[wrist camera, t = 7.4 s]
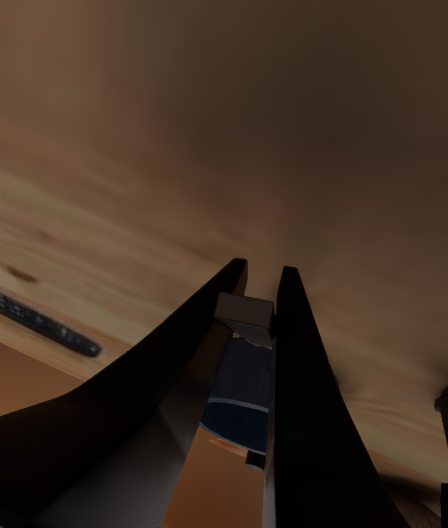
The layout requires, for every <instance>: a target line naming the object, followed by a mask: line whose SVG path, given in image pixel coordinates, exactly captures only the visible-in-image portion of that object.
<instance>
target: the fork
mask: <svg viewBox="0 0 448 528" xmlns="http://www.w3.org/2000/svg"><path fill="white" fill-rule="evenodd" d="M214 317H215V318H216V319H217V320H219V321H220V322H222V323H223V324H225V325H226V326H227V327H229V328H230V329H232V330H233V331H235V332H236V333H237V334H239V335H240V336H242V337H243V338H245V339H246V340H247V341H248V342H249V343H252V344H254V345H255V346H258V347H261V346H263V347H266V348H267V349H270V350H272V338H273V330H274V321H275V313H274V304H273V302H272V301H268V300H262V299H257V298H252V297H247V296H242V295H237V294H232V293H227V292H220V293H219V297H218V301H217V305H216V309H215V313H214Z"/></svg>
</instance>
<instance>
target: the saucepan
mask: <svg viewBox="0 0 448 528" xmlns="http://www.w3.org/2000/svg"><path fill="white" fill-rule="evenodd" d="M271 354H272V350H270V349H267V348H266V347H263V346H261V347H258V346H255V345H254V344H252V343H249V342H248V341H247V340H246V339H245V338H233V339H231V341H230V344H229V346H228V349H227V352H226V354H225V357H224V360H223V362H222V365H221V368H220V370H219V373H218V376H217V378H216V381H215V383H214V386H213V389H212V391H211V394H210V397H209V399H208V402H207V405H206V407H205V410H204V413H203V415H202V418H201V421H200V423H199V426H201V427H202V428H203V429H205V430H207V431H208V432H210V433H212V434H214V435H215V436H217V437H219V438H221V439H223V440H225V441H228V442H230V443H232V444H234V445H236V446H239V447H242V448H245V449H247V450H250V451H253V452H256V453H259V454H263V455H266V446H267V427H268V409H269V390H270V372H271ZM334 377H335V375H334ZM335 380H336V383H337V385H338V388H339V384H338V381H337V379H336V377H335ZM339 391H340V390H339Z"/></svg>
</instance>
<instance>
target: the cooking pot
mask: <svg viewBox="0 0 448 528" xmlns="http://www.w3.org/2000/svg"><path fill="white" fill-rule="evenodd" d="M383 485H384V487H385V488H386V490H387V492H388V494H389V495H390V497H391V499H392V500H393V502H394V504H395V505H396V507H397V508H398V510H399V511H400V513H401V514H402V515H403V517H404V518H405V519H406V521H407V522H408V523H409V525H410V526H411V527H412V528H441V518H440V517H439V516H438V515H437V514H436V513H434V512H433V511H432V510H431V509H429V508H428V507H427V506H426V505H424V504H423V503H422V502H420V501H419V500H418V499H417V498H415V497H414V496H413V495H412V494H411V493H410V492H408V491H406V490H404V489H401V488H399V487H396V486H392V485H388V484H384V483H383Z"/></svg>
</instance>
